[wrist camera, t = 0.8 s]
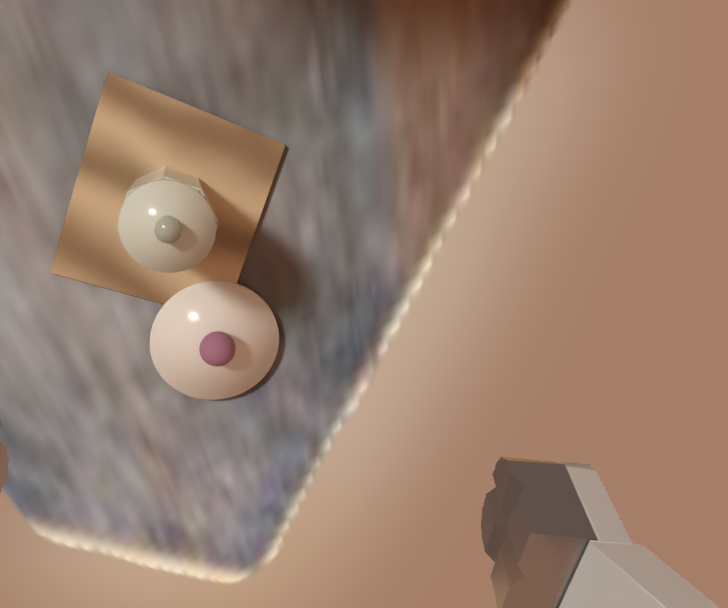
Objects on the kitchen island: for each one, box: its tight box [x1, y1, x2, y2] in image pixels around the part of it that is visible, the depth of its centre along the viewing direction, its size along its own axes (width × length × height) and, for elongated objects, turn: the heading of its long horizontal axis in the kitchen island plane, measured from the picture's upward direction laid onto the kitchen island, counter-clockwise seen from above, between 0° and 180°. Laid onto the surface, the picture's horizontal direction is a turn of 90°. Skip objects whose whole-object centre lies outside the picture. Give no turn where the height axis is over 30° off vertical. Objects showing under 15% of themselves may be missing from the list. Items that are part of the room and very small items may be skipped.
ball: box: [199, 331, 236, 367], centre depth 49 cm, size 3×3×3 cm
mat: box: [50, 72, 285, 304], centre depth 46 cm, size 16×14×1 cm
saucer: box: [150, 281, 279, 400], centre depth 50 cm, size 11×11×1 cm
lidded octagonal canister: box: [116, 166, 219, 273], centre depth 41 cm, size 6×6×11 cm
